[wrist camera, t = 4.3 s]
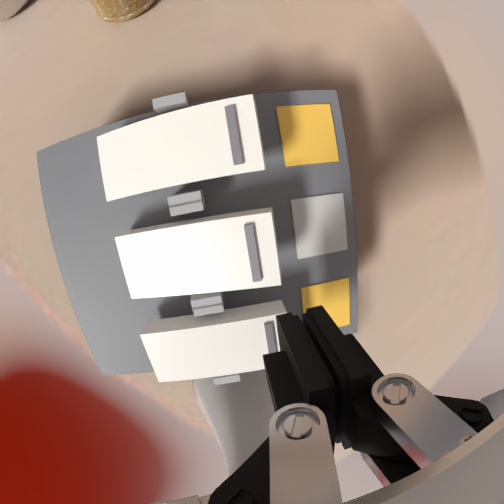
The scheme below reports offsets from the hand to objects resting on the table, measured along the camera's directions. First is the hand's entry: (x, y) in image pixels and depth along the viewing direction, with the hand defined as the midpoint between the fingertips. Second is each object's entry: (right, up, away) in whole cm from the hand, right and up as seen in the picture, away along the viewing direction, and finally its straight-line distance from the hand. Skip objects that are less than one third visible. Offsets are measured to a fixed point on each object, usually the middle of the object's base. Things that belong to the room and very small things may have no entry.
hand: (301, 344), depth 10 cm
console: (-5, +5, +7) cm, 9 cm away
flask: (-3, -7, +10) cm, 13 cm away
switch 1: (-4, +7, 0) cm, 8 cm away
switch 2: (-4, +3, +1) cm, 5 cm away
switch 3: (-3, -1, +2) cm, 4 cm away
